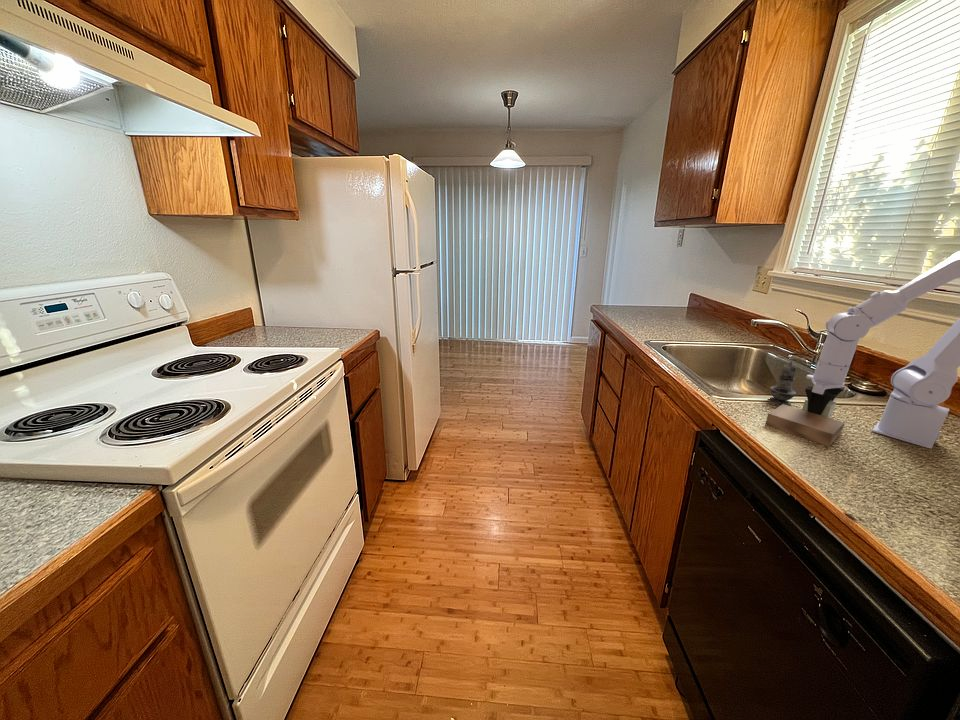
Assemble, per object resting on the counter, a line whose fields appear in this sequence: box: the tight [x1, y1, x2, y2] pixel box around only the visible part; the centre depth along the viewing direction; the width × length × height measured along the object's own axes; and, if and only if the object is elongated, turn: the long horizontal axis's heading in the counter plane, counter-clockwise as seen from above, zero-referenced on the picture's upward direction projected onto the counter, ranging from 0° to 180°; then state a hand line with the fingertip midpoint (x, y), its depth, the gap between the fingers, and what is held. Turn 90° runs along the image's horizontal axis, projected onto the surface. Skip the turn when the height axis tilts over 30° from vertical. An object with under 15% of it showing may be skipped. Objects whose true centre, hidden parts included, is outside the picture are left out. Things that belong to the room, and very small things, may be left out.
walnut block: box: [764, 404, 845, 447], centre depth 90 cm, size 12×10×3 cm
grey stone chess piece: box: [767, 361, 797, 407], centre depth 104 cm, size 6×6×12 cm
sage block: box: [801, 398, 837, 419], centre depth 95 cm, size 5×5×5 cm
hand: (816, 413), depth 96 cm, fingers closed on sage block, 5 cm apart
